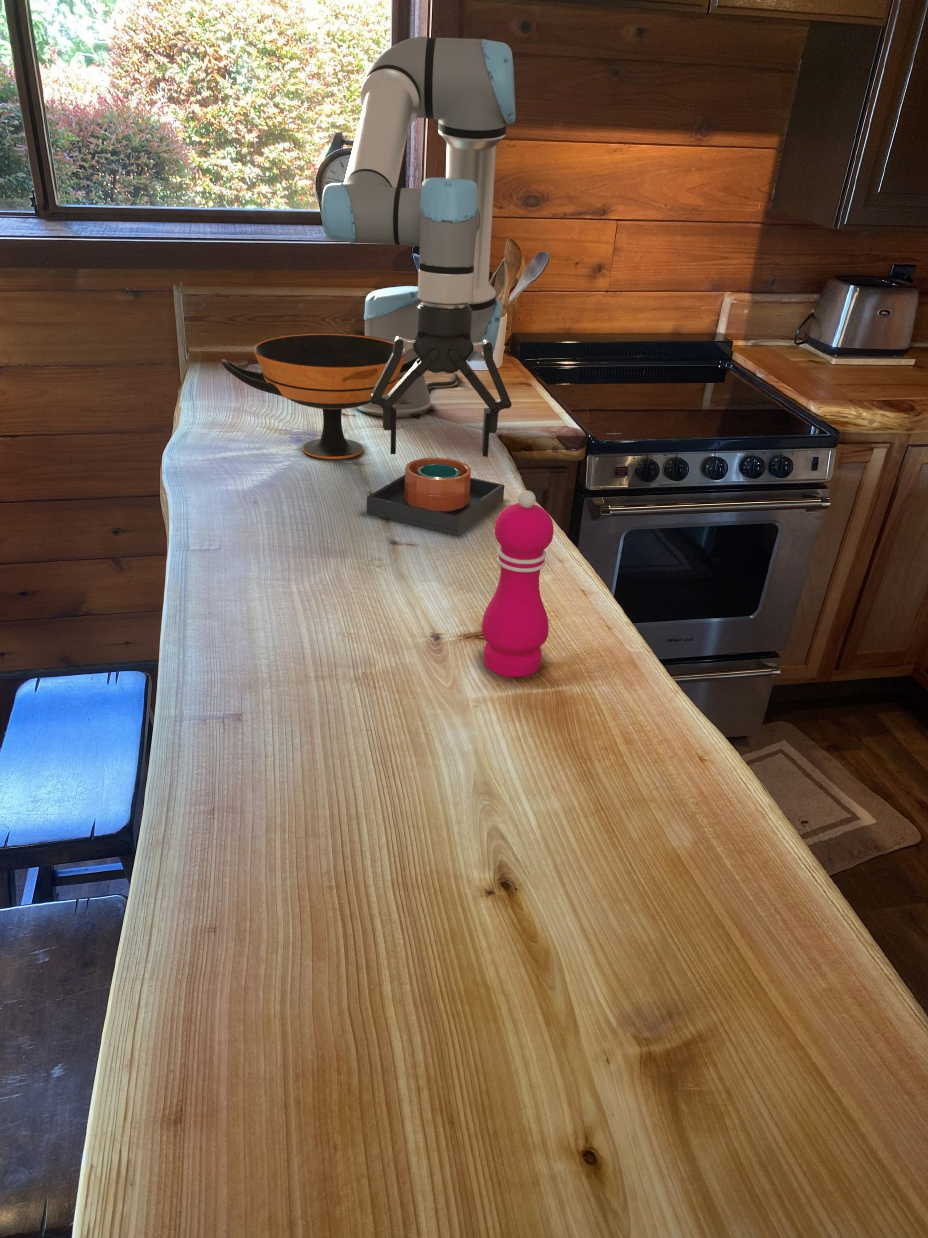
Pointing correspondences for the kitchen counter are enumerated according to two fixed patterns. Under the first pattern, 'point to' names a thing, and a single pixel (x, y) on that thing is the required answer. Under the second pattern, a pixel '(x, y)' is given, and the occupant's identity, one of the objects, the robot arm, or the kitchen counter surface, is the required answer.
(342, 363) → the cup
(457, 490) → the bowl large
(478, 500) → the tray
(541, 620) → the pepper mill
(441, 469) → the bowl small
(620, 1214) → the kitchen counter surface
